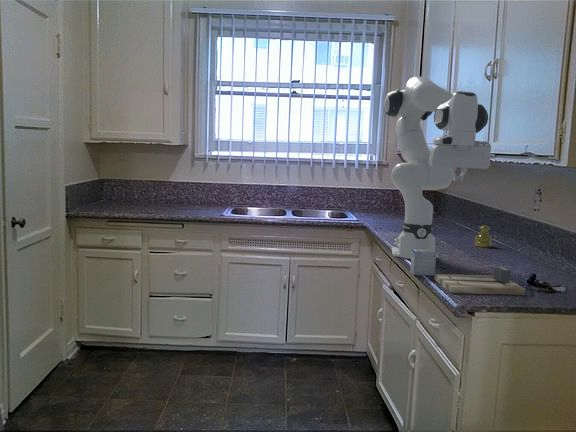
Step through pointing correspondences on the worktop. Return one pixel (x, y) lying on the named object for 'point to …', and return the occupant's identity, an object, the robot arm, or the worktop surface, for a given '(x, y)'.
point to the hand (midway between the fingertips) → (457, 181)
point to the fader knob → (502, 274)
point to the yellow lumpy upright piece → (483, 237)
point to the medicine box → (423, 262)
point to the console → (477, 284)
